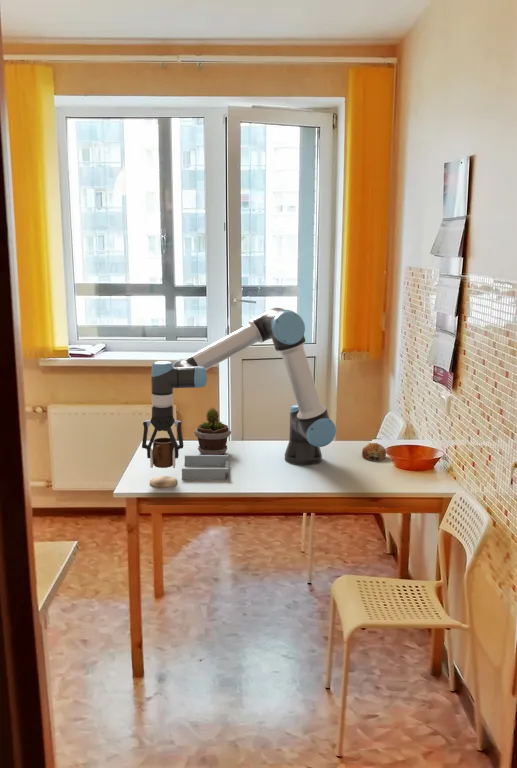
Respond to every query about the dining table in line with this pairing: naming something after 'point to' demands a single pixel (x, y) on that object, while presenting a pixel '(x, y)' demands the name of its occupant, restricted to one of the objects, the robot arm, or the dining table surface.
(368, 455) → the bread roll
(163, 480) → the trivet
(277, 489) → the dining table surface
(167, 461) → the mug
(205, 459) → the u-shaped frame
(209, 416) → the flowerpot
